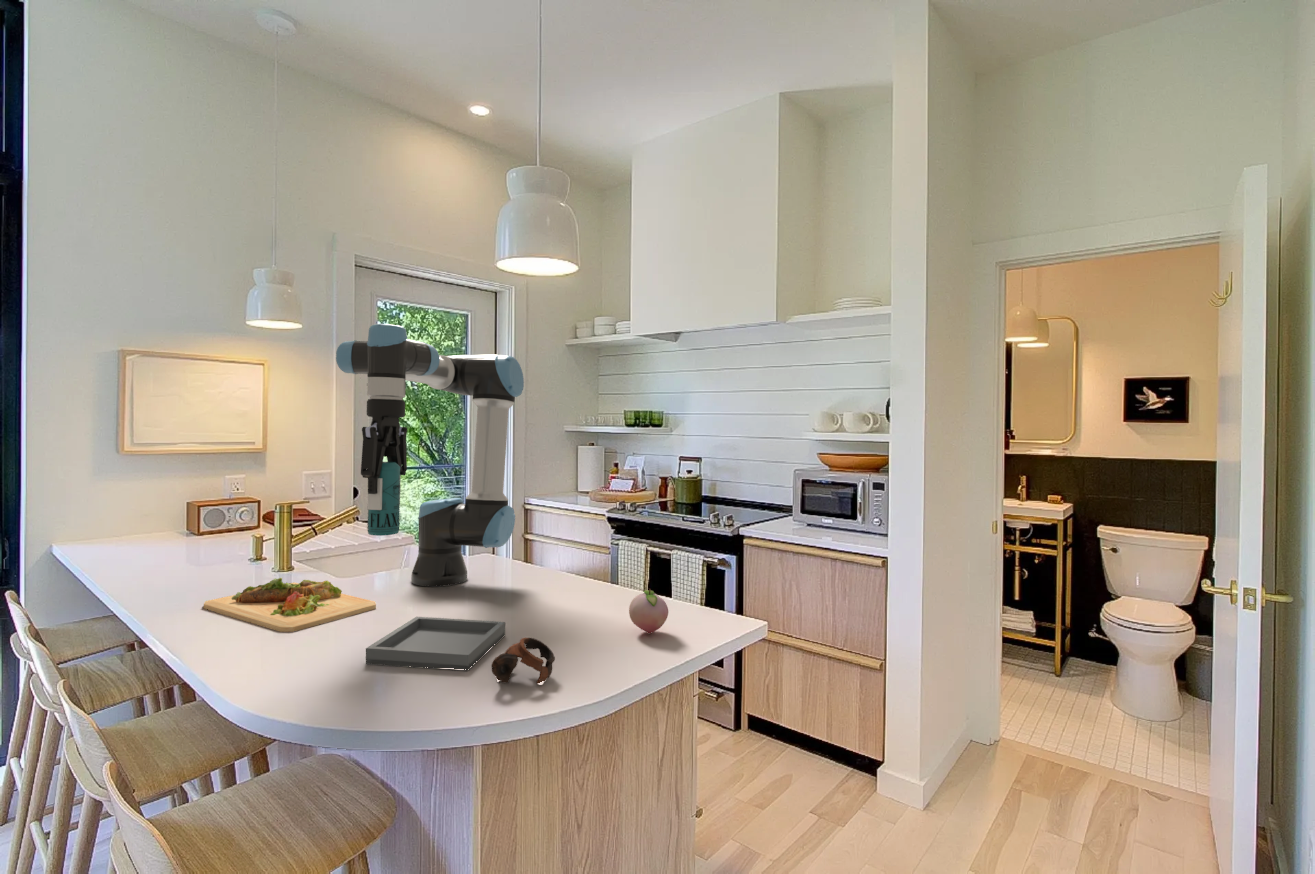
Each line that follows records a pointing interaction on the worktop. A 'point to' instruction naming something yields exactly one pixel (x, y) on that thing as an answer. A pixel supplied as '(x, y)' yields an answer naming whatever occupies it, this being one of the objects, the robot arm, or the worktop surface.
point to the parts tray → (436, 643)
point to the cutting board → (290, 605)
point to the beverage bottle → (387, 500)
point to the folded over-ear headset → (523, 659)
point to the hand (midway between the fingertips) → (384, 507)
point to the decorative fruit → (648, 611)
